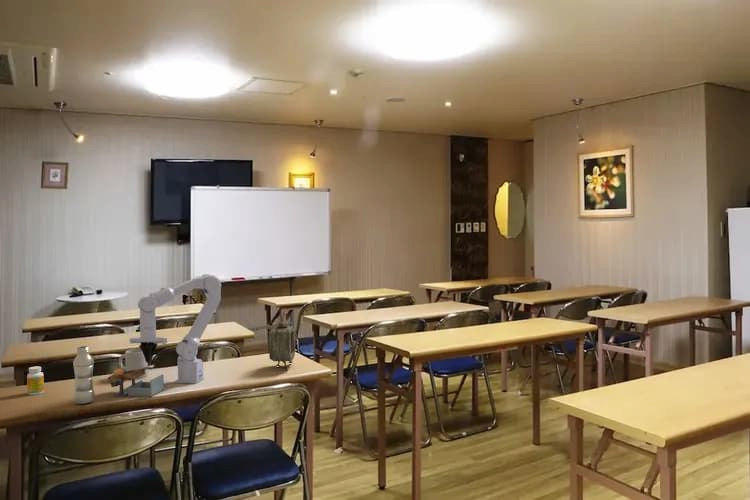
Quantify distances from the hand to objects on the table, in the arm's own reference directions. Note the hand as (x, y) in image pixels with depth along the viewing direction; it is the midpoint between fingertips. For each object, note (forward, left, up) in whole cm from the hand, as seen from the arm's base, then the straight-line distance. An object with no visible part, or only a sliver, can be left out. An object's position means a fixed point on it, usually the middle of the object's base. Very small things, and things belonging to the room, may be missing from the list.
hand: (148, 361), depth 224 cm
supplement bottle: (+39, +12, -10) cm, 42 cm away
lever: (+4, +5, -6) cm, 9 cm away
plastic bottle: (+12, +22, -10) cm, 27 cm away
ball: (+7, +8, -3) cm, 12 cm away
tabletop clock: (-43, -35, -10) cm, 56 cm away
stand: (+4, +8, -10) cm, 14 cm away
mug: (+15, -14, -10) cm, 23 cm away
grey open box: (-4, +8, -10) cm, 13 cm away
